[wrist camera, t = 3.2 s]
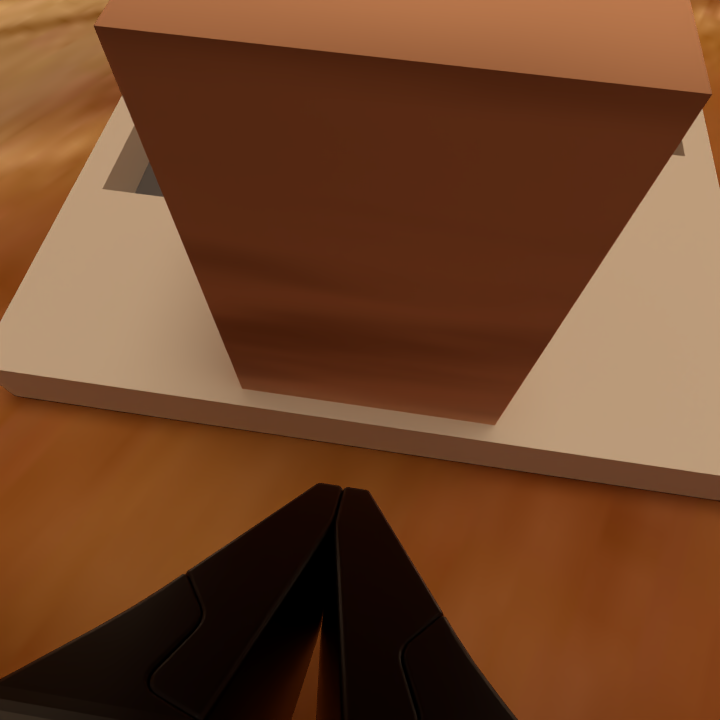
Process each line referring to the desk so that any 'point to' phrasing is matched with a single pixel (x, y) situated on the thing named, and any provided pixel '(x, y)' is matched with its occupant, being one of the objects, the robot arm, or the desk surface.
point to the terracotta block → (402, 176)
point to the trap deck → (373, 425)
